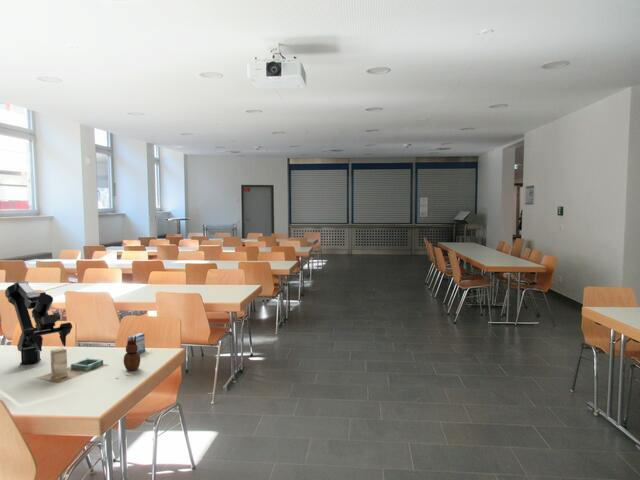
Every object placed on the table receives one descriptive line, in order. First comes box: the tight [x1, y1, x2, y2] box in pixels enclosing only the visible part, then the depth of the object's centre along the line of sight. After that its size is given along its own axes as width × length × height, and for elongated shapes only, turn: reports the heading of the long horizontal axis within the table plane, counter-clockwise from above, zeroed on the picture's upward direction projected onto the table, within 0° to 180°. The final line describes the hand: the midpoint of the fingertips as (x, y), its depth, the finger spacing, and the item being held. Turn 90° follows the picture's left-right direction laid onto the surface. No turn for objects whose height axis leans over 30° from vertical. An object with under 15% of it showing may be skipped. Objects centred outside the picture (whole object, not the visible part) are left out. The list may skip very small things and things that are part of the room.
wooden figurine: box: [123, 334, 141, 372], centre depth 203 cm, size 7×6×15 cm
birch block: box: [49, 347, 68, 379], centre depth 193 cm, size 4×4×11 cm
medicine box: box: [127, 332, 146, 354], centre depth 228 cm, size 8×4×9 cm, turn 168°
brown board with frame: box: [36, 358, 109, 384], centre depth 199 cm, size 24×14×3 cm, turn 154°
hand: (53, 348), depth 196 cm, fingers open, 9 cm apart
